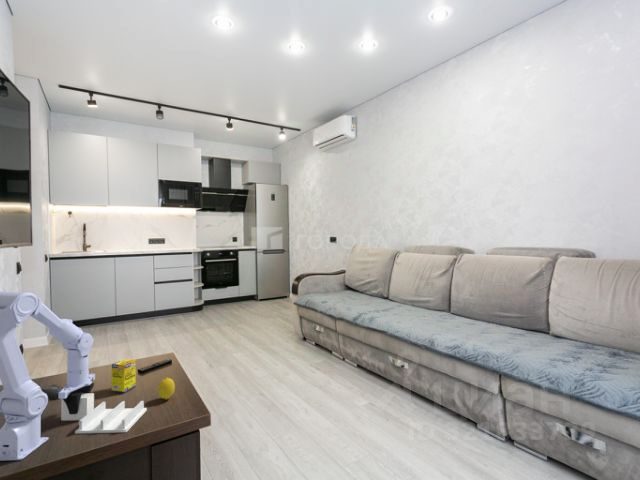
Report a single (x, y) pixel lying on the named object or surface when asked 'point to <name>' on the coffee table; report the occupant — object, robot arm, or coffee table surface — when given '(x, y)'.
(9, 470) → the coffee table surface
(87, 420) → the dish rack
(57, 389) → the multiport hub
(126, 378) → the supplement box
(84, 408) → the cream rectangular prism
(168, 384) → the lemon
